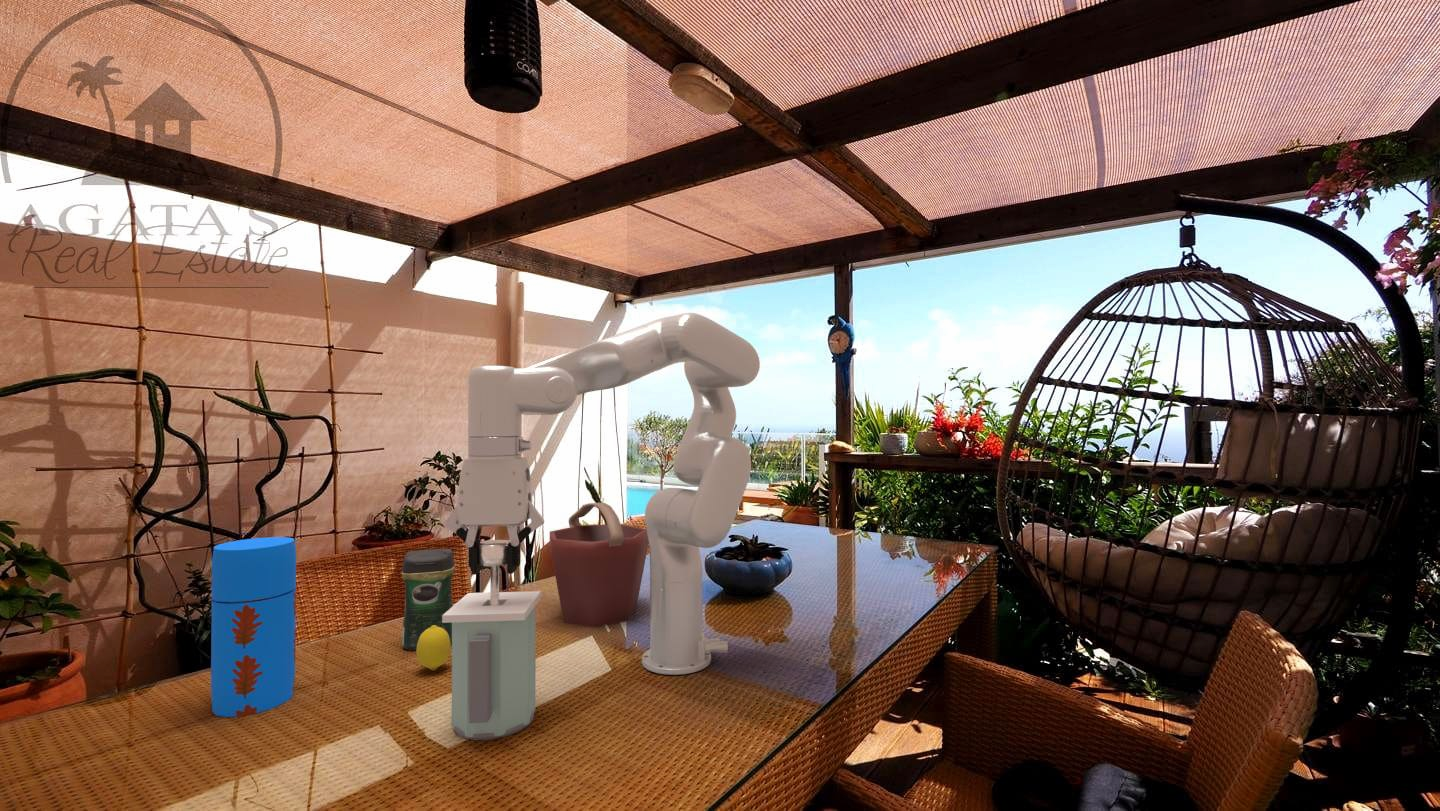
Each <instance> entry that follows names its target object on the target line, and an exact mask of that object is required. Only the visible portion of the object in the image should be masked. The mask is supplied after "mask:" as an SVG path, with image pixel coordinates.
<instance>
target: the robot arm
mask: <svg viewBox="0 0 1440 811" xmlns="http://www.w3.org/2000/svg"><path fill="white" fill-rule="evenodd" d="M760 361H761V360H760V357H759V354H758V351H757V350H756V348H755V347H754V346H753V345H752V344H751V343H750V342H748V340H746V339H745V338H743V337H741V336H739V335H738V334H736V333H734V332H733V331H732V330H730V329H729V328H726V327H724V326H723V325H722V324H719V323H717V322H716V321H714V320H712V319H710V318H709V317H707V316H704V315H701V314H699V313H695V312H686V313H681V314H677V315H676V314H675V315H671V316H665V317H661V318H658V319H656V320H653V321H650V322H647V323H644V324H642V325H639V326H637V327H634V328H631V329H628V330H626V331H623V332H620V333H618V334H615V335H612V336H609V337H606V338H603V339H600V340H598V341H595V342H591V343H590V344H587V345H585V346H583V347H580V348H577V349H575V350H572V351H569V352H567V353H564V354H560V355H557V356H554V357H552V358H549V359H547V360H544V361H541V362H539V363H535V364H533V365H530V366H527V367H522V368H519V367H518V368H517V367H513V366H507V365H491V364H490V365H479V366H478V365H477V366H474V367H473V368H472V369H471V370H470V371H469V372H468V378H467V380H468V384H467V385H468V386H467V389H468V390H467V392H468V393H467V394H468V395H467V398H468V399H467V400H468V401H467V404H468V405H467V406H468V407H467V421H468V422H467V436H468V437H467V457H466V458H465V457H464V458H463V461H462V465H461V468H460V475H459V481H458V488H457V489H458V490H457V500H456V506H455V508H454V509H453V511H452V512H451V513H450V515H449V516H448V517H447V519H446V520H445V522H444V524H443V525H444V527H445V528H446V529H448V530H449V531H451V532H452V533H454V534H456V536H458V538H459V539H460V540H462V541H463V542H464V543H465V547H467V548H468V568H470V569H471V575H477V574H479V573H480V572H481V571H483V570H484V566H481V565H479V543H480V542H481V539H480V538H481V535H482V530H483V527H506V528H507V533H508V537H509V541H510V546H509V547H507V564H506V573H507V574H508V575H512V574H514V573H515V571H517V569H518V567H520V566H521V555H522V554H521V548H522V547H521V544H522V542H523V541H525V540H526V539H527V538H528V536H529V535H531V533H533V532H534V531H536V530H537V529H539V528H540V527H541V526H542V525H544V524H545V520H544V518H543V516H542V515H541V513H539V511H538V510H537V508H536V507H535V505H534V503H533V492H532V478H531V471H530V470H531V469H530V465H529V460H528V457H526V456H524V457H523V456H522V454H524V451H525V452H526V451H528V450H529V451H530V450H531V449H532V441H531V440H526V439H524V438H523V437H524V436H522V434H523V433H522V428H523V427H522V421H523V419H522V415H525V416H536V415H538V416H539V415H540V416H553V415H557V414H561V413H564V412H566V411H567V410H568V409H570V408H571V407H572V406H573V404H575V402H576V399H577V396H580V395H583V394H586V393H591V392H597V391H603V390H609V389H614V388H617V387H622V386H625V385H628V384H631V383H632V382H634V381H637V380H639V379H641V378H643V377H645V376H647V375H650V374H652V373H654V372H657V371H659V370H663V369H664V368H667V367H669V366H673V365H674V364H679V363H684V365H683V366H684V367H683V370H684V374H685V378H686V380H687V383H688V384H689V386H690V389H691V392H692V397H693V410H692V414H691V417H690V419H689V421H688V425H687V427H686V430H685V432H684V434H683V436H682V439H681V441H680V443H679V445H678V448H677V450H676V454H675V456H674V459H673V463H672V465H673V466H672V468H673V473H674V474H675V476H676V477H677V479H678V480H679V481H681V482H682V483H684V484H687V485H691V486H695V487H698V488H697V490H693V489H687V488H682V487H666V488H663V489H660V490H658V491H656V492H655V493H654V494H653V495H651V497H650V498H649V499H648V501H647V504H646V506H645V510H644V523H645V529H646V532H647V537H648V542H649V543H648V548H649V550H648V551H649V568H650V569H649V570H650V571H649V600H650V601H649V611H650V612H649V615H650V616H649V617H650V618H649V624H650V626H649V627H650V628H649V632H650V634H649V635H650V637H649V639H650V640H649V642H650V643H649V649H647V650H646V651H645V652H643V654H642V656H641V664H642V666H643V667H644V668H645V669H646V670H648V671H650V672H652V673H656V674H660V675H670V676H671V675H672V676H677V675H678V676H679V675H687V674H692V673H696V672H700V671H702V670H703V669H706V667H708V666H709V665H710V664H711V662H712V654H711V653H718V654H720V653H721V654H722V653H724V654H725V653H728V652H729V647H728V646H729V644H728V642H729V641H727V640H726V641H721V638H718V637H717V638H716V637H714V638H708V637H705V633H704V630H703V561H702V555H701V551H700V548H702V549H703V548H704V549H711V548H715V547H716V546H718V545H719V544H721V543H722V542H723V541H724V540H725V539H726V537H727V536H728V534H729V532H730V530H731V528H732V526H733V523H734V521H735V518H736V516H737V513H738V510H739V507H740V505H741V502H742V500H743V497H744V494H745V492H746V490H747V485H748V483H749V481H750V477H751V470H752V459H751V454H750V451H749V449H748V447H747V446H746V444H745V443H744V442H743V441H742V440H740V439H738V438H736V437H732V434H733V432H734V429H735V425H736V420H737V410H736V406H735V402H734V399H733V397H732V395H731V391H730V390H729V388H738V387H743V386H747V385H749V384H750V383H752V382H753V381H755V379H756V378H757V376H758V374H759V372H760V368H761V367H760V366H761V362H760ZM528 520H531V521H530V523H528V524H527V525H526V526H525V527H523V528H522V526H521V525H522V524H525V523H526V521H528Z"/></svg>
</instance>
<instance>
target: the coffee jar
mask: <svg viewBox="0 0 1440 811" xmlns="http://www.w3.org/2000/svg"><path fill="white" fill-rule="evenodd" d="M455 570H456V566H455V559H454V553H453V550H452V549H451V548H435V549H433V548H431V549H422V550H421V549H420V550H412V551H408V552H407V553H406V554H405V555H404V557H403V561H402V568H401V578H402V581H403V583H404V591H405V596H404V598H405V599H404V600H405V601H404V613H403V623H402V634H401V645H402V647H403V648H404V649H406V650H416V649H417V643H418V640H419V637H420V635H421V634H422V633H423V632H424V631H425V630H426V629H428V628H430V627H431V626H432V625H436V626H437V627H441V628H443V629H444V630H445V631H446V632H447V633H448V635H449V638H450V643H452V622H450V623H442V615H443V614H445V613H446V612H447V611H448V610H449V609H450V608H451V607H453V606H454V605H453V597H452V596H453V595H452V578H453V576H454V574H455Z"/></svg>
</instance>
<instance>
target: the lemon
mask: <svg viewBox="0 0 1440 811" xmlns="http://www.w3.org/2000/svg"><path fill="white" fill-rule="evenodd" d="M451 650H452V642H450V638H449V635H448V633H447V632H446V631H445V630H444V629H443V628H441V627H437V626H436V625H432V626H431V627H430V628H428V629H426V630H425V631H424V632H423V633H422V634H421V635H420V637H419V640H418V643H417V649H415V651H416V653H415V654H416V658H417V661H418V663H419V664H420V665H421V666H422V667H424V668H426V669H429V670H430V671H433V672H435V671H436V670H437V669H438V668H439V667H440V666H442V665H444V663H445V662H447V660H448V658H449V656H450V654H451Z"/></svg>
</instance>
